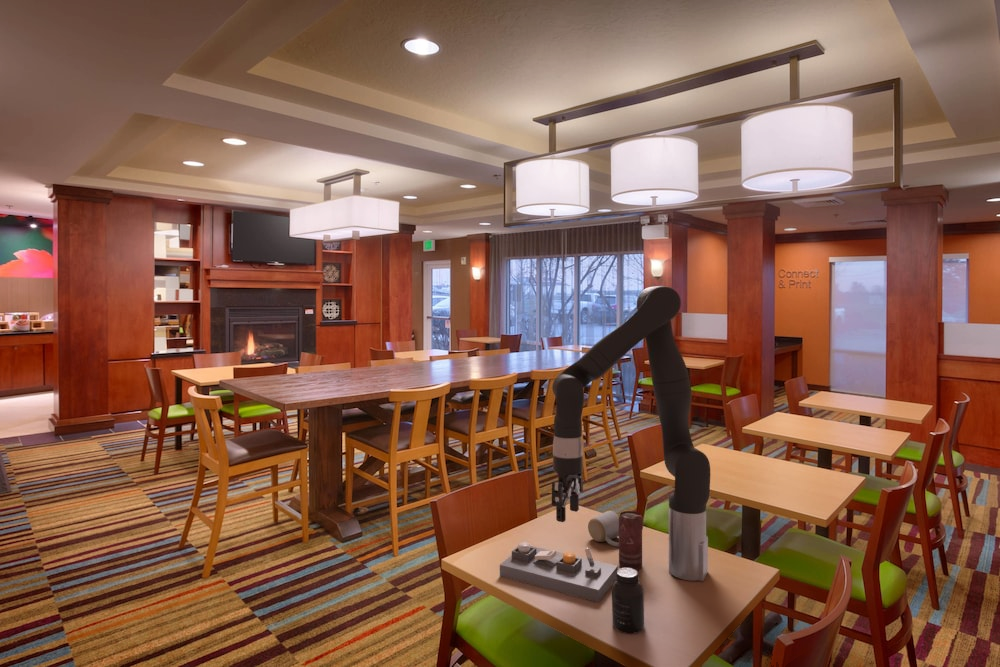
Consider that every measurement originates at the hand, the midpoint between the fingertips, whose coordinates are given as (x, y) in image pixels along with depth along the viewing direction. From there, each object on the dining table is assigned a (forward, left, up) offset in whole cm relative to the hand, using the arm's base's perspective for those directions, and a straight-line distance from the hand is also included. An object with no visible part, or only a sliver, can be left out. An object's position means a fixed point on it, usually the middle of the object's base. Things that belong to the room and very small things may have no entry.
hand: (567, 515), depth 143 cm
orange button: (0, 0, -12) cm, 12 cm away
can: (-12, -15, -17) cm, 25 cm away
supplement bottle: (-20, +13, -17) cm, 29 cm away
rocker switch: (+6, 0, -12) cm, 14 cm away
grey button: (+13, 0, -12) cm, 17 cm away
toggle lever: (-7, 0, -12) cm, 14 cm away
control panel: (+3, 0, -16) cm, 17 cm away
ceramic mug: (-1, -28, -17) cm, 32 cm away
